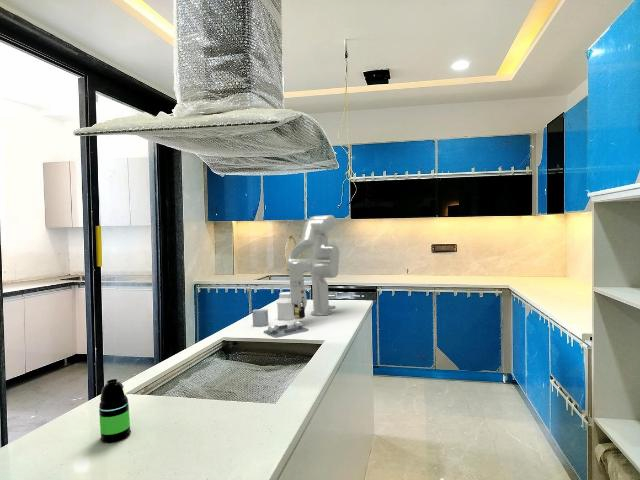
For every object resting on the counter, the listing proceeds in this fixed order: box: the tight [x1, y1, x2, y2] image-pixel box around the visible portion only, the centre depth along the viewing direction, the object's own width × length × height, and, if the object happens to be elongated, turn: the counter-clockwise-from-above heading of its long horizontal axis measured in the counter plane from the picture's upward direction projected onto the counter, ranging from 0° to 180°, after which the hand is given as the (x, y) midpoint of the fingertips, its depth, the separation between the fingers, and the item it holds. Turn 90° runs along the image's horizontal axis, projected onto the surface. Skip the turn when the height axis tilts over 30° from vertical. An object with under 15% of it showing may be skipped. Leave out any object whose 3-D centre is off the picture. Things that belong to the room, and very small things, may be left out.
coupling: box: [294, 305, 305, 320], centre depth 228 cm, size 5×5×6 cm
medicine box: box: [251, 308, 270, 327], centre depth 231 cm, size 8×4×9 cm, turn 84°
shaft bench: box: [263, 320, 309, 338], centre depth 214 cm, size 19×13×4 cm
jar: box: [276, 291, 295, 321], centre depth 247 cm, size 12×10×15 cm
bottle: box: [98, 378, 132, 444], centre depth 110 cm, size 7×7×15 cm
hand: (299, 316), depth 228 cm, fingers closed on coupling, 4 cm apart
